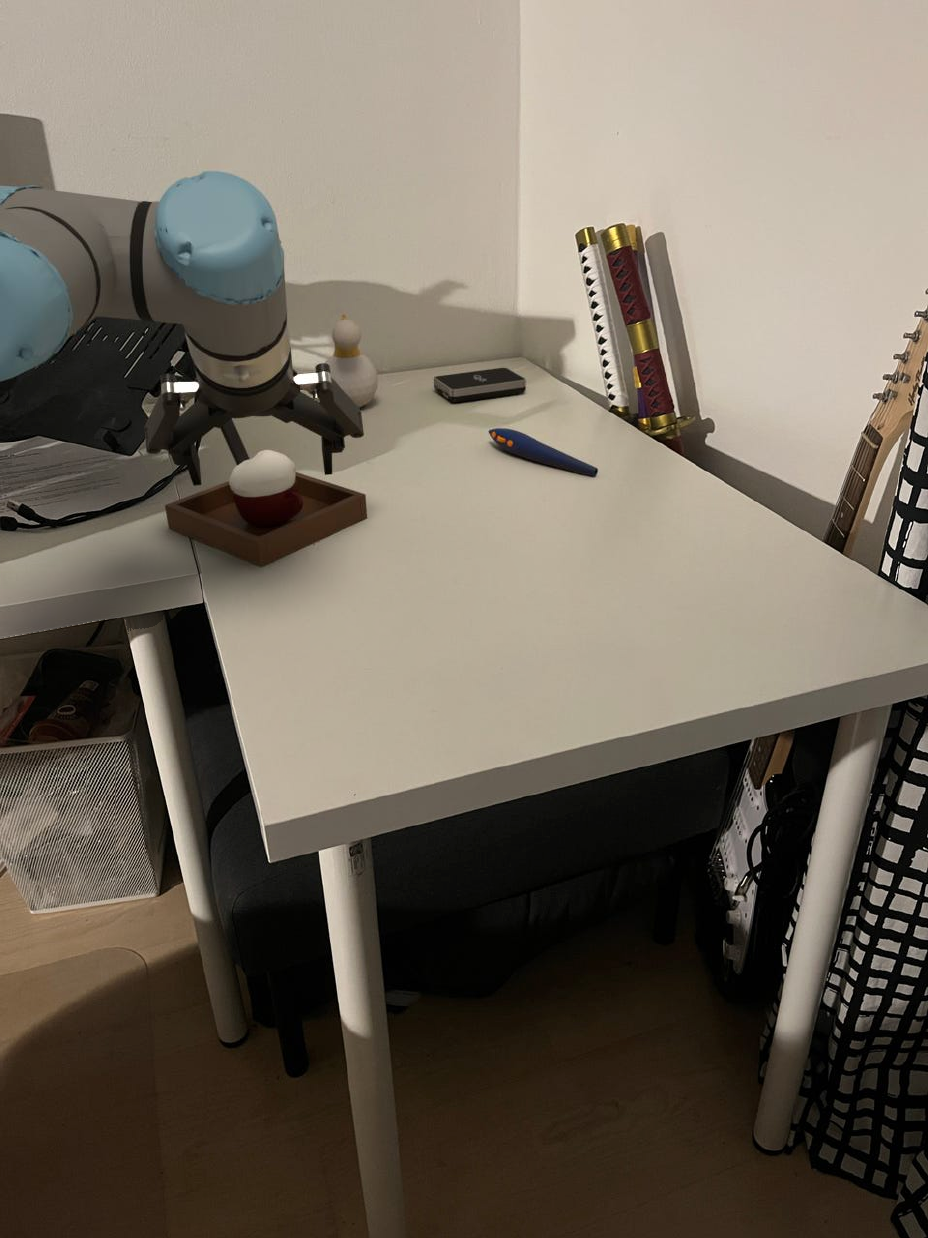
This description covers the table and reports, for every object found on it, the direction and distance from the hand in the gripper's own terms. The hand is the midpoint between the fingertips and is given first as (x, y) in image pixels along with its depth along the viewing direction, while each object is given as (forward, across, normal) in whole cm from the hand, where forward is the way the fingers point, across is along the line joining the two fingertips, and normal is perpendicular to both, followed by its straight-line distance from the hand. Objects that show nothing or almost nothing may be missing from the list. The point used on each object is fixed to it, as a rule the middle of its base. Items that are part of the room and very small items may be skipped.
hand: (262, 467), depth 95 cm
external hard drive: (+28, +29, +21) cm, 45 cm away
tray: (+2, 0, -5) cm, 6 cm away
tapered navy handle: (+9, +30, +2) cm, 32 cm away
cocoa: (+1, 0, -5) cm, 5 cm away
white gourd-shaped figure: (+26, +12, +19) cm, 34 cm away
